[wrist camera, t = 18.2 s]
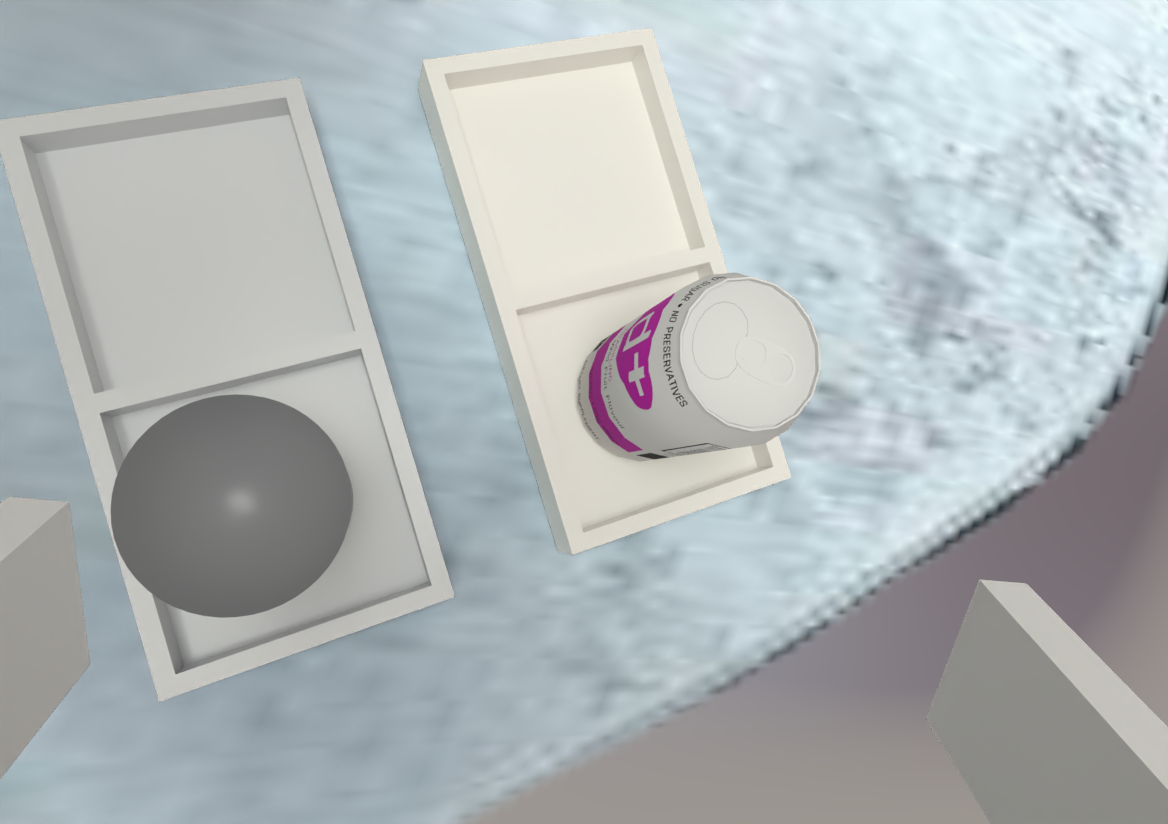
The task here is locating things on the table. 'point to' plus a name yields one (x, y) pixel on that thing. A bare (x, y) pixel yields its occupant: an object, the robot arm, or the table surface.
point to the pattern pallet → (223, 375)
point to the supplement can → (702, 371)
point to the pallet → (581, 256)
